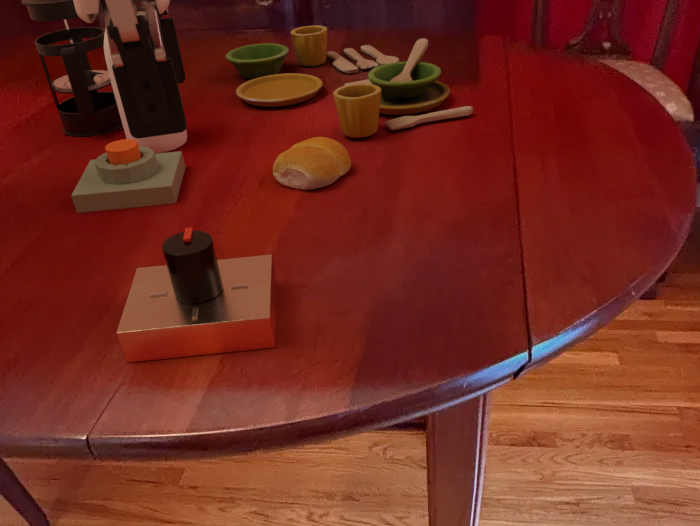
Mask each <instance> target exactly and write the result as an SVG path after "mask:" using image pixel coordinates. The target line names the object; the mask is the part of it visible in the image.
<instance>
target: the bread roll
mask: <svg viewBox="0 0 700 526" xmlns="http://www.w3.org/2000/svg"><path fill="white" fill-rule="evenodd" d="M351 167H352V160H351V156H350V153H349V152H348V150H347V148H346V147H345V146H344V145H343V144H342V143H340V142H339V141H337V140H335V139H334V138H329V137H325V136H314V137H311V138H308V139H304V140H302V141H300V142H296V143H294V144H293V145H292V146H291V147H290V148H288V149H287V150H284V151H283V152H281V153H280V154H279V155H278V156H276V159H275V160H274V162H273V166H272V175H273V178H274V179H275V180H276V182H277V183H279V184H280V185H281V186H284V187H289V188H291V189H294V190H295V189H296V190H302V191H307V190H308V191H310V190H316V189H321V188H323V187H327V186H329V185H331V184H333V183H335V182H337V180H338V179H340V177H342V176H344V175H346V174H347V172H348V171H349V170H350V169H351Z"/></svg>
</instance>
